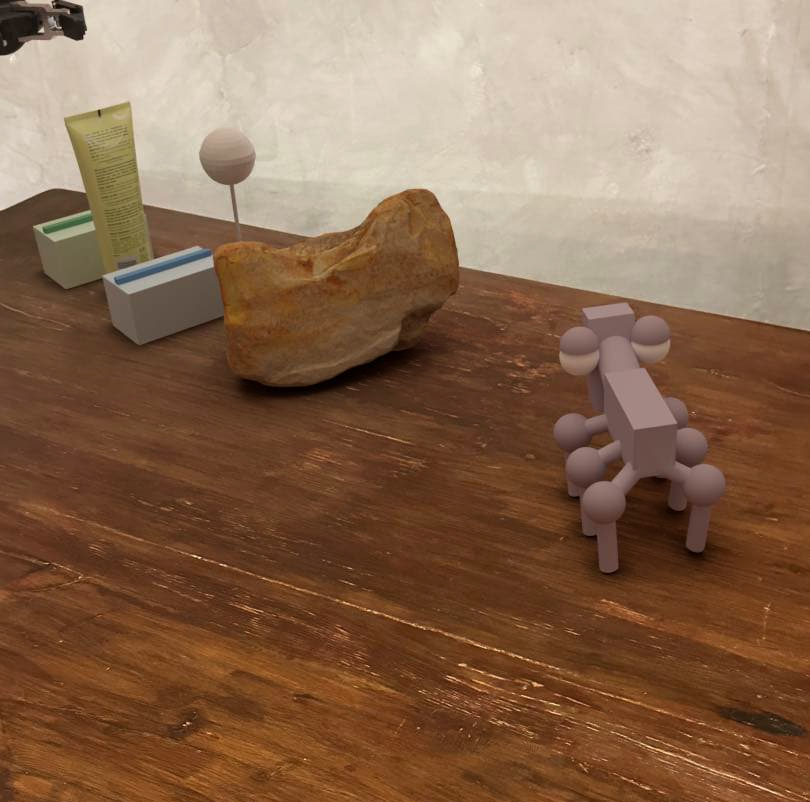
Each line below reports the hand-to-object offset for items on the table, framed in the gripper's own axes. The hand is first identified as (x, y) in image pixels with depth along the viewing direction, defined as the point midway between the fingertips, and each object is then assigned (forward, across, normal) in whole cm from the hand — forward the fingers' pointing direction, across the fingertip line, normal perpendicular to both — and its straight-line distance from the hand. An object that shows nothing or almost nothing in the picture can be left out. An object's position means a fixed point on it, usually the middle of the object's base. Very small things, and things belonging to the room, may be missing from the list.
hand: (40, 37), depth 116 cm
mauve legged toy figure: (+72, +12, +25) cm, 77 cm away
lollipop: (+12, +13, +25) cm, 30 cm away
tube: (+11, 0, +25) cm, 27 cm away
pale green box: (+2, 0, +24) cm, 25 cm away
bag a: (+20, 0, +25) cm, 32 cm away
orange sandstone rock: (+36, +10, +25) cm, 45 cm away
